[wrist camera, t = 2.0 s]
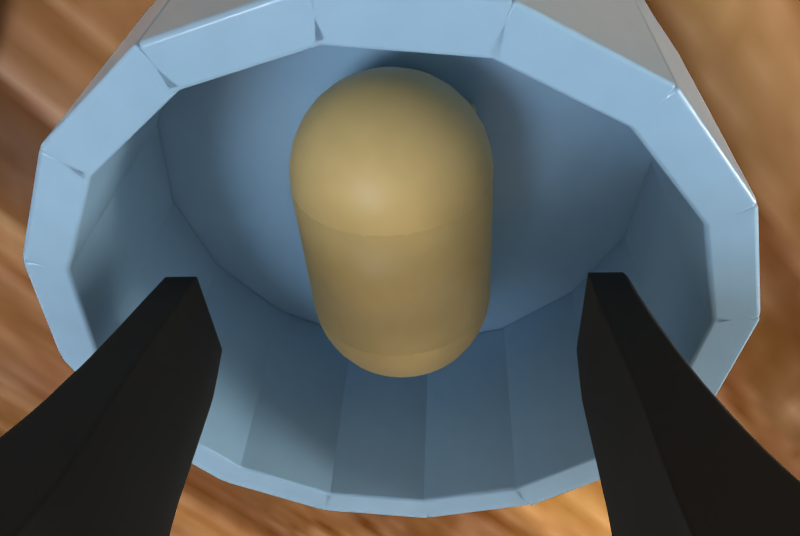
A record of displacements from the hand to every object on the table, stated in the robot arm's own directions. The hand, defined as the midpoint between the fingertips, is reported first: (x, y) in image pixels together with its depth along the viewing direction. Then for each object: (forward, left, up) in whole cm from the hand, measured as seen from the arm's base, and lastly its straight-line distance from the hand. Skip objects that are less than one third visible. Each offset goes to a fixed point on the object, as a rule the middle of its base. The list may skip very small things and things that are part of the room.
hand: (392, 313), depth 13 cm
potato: (0, 0, -4) cm, 4 cm away
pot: (0, 0, -5) cm, 5 cm away
